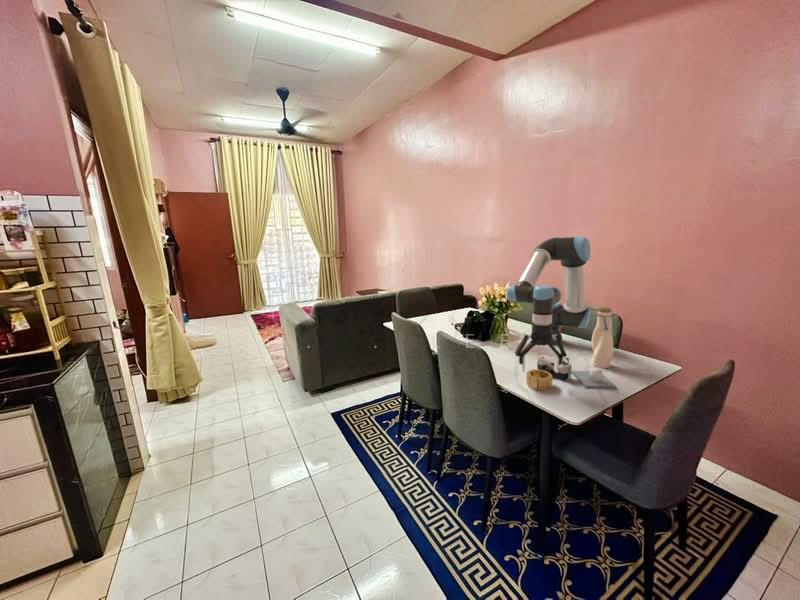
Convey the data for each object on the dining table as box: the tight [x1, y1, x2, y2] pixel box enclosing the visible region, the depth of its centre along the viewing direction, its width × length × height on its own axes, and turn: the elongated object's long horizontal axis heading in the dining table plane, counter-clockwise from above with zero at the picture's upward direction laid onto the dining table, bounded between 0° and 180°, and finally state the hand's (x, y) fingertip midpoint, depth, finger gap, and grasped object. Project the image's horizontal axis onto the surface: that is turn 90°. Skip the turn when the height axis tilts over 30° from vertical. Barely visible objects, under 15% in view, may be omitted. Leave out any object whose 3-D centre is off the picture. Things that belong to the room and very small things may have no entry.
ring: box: [525, 369, 554, 391], centre depth 139 cm, size 10×10×5 cm
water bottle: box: [590, 307, 615, 369], centre depth 153 cm, size 10×9×28 cm
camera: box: [536, 354, 573, 382], centre depth 148 cm, size 15×8×10 cm, turn 25°
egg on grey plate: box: [571, 367, 617, 389], centre depth 141 cm, size 15×12×6 cm
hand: (539, 371), depth 138 cm, fingers open, 13 cm apart
